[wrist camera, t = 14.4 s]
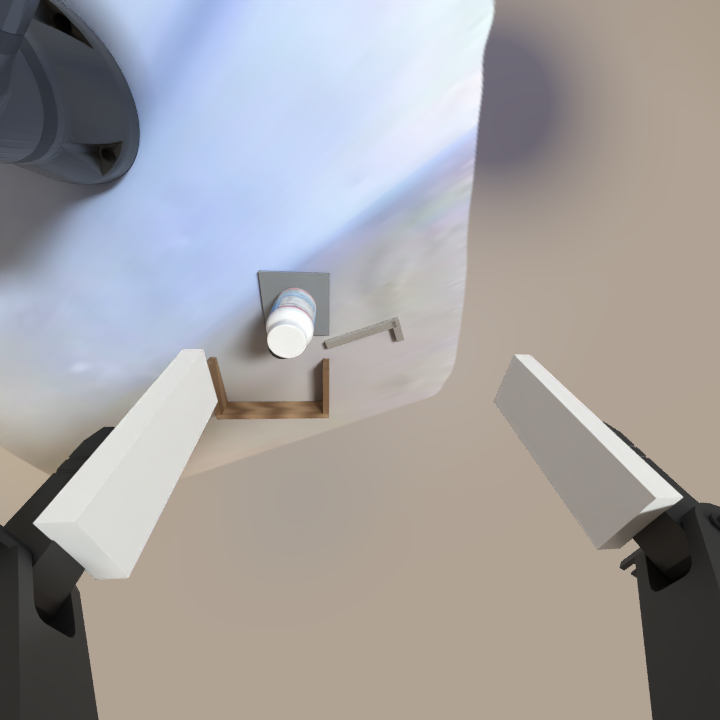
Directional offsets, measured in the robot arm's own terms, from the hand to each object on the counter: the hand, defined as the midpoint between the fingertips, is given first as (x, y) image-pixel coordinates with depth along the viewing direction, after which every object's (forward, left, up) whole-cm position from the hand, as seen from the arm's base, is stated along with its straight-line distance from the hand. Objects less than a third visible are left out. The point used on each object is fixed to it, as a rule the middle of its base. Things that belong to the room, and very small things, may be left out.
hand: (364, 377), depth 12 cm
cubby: (-12, -25, -32) cm, 42 cm away
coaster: (-7, -10, -32) cm, 34 cm away
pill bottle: (-7, -10, -31) cm, 34 cm away
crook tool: (+4, -16, -32) cm, 36 cm away
